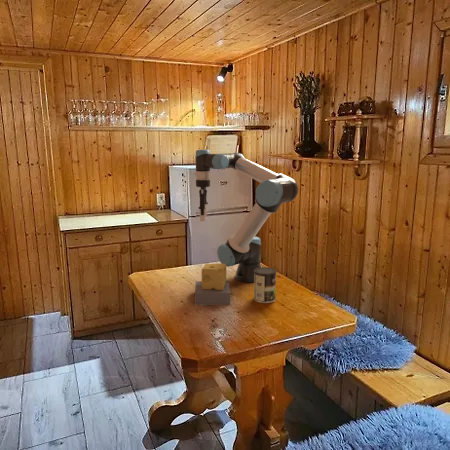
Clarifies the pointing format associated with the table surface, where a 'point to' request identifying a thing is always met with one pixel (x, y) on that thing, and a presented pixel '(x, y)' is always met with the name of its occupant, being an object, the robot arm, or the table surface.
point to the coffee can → (264, 285)
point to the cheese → (214, 276)
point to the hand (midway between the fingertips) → (203, 218)
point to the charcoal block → (211, 295)
